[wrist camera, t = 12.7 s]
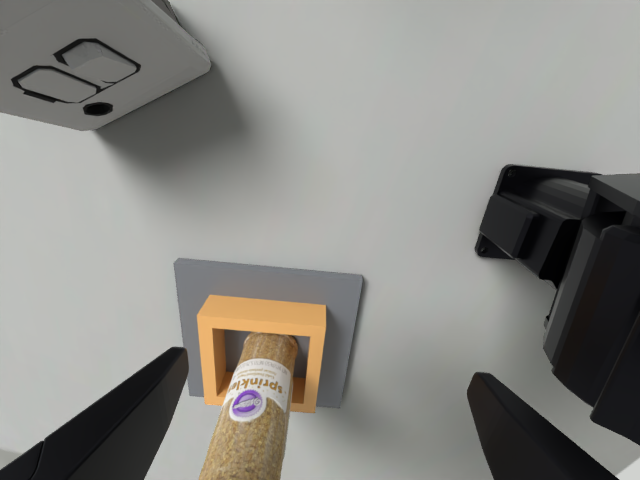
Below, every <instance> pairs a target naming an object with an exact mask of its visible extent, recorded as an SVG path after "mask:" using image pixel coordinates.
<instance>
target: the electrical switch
mask: <svg viewBox="0 0 640 480" xmlns="http://www.w3.org/2000/svg"><path fill="white" fill-rule="evenodd" d="M210 67H211V62H210V59H209V57H208V54H207V51H206V49H205V48H204V46H203V45H202V44H201V43H200V42H198V41H197V40H196V39H194V38H193V37H192V36H190V35H189V34H188V33H187V32H186V31H185V30H184V29H183V28H182V27H181V26H179V24H178V22H177V19H176V17H175V15H174V12H173V10H172V7H171V5H170V2H169V1H168V0H0V112H1V113H6V114H10V115H14V116H19V117H23V118H27V119H32V120H36V121H41V122H45V123H49V124H54V125H58V126H62V127H67V128H71V129H75V130H80V131H87V130H96V129H98V128H100V127H102V126H104V125H106V124H108V123H110V122H112V121H114V120H116V119H118V118H119V117H121V116H123V115H125V114H127V113H129V112H131V111H133V110H135V109H137V108H139V107H141V106H143V105H145V104H147V103H149V102H151V101H153V100H155V99H156V98H158V97H160V96H162V95H164V94H166V93H168V92H170V91H172V90H174V89H176V88H178V87H180V86H182V85H184V84H186V83H188V82H190V81H192V80H193V79H195V78H197V77H199V76H201V75H203V74H205V73H207V72H208V71H210Z"/></svg>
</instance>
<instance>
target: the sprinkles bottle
mask: <svg viewBox="0 0 640 480" xmlns="http://www.w3.org/2000/svg"><path fill="white" fill-rule="evenodd" d="M297 352H298V346H297V343H296V341H295V339H294V338H293V337H292V336H291V335H287V334H275V333H263V332H251V333H250V334H249V335H248V336H247V338H246V339H245V341H244V345H243V351H242V354H241V357H240V360H239V363H238V365H237V368H236V370H235V372H234V374H233V377H232V380H231V383H230V386H229V389H228V391H227V394H226V397H225V400H224V403H223V406H222V408H221V412H220V415H219V419H218V422H217V424H216V427H215V430H214V433H213V436H212V439H211V442H210V445H209V449H208V453H207V456H206V459H205V462H204V465H203V468H202V471H201V473H200V476H199V480H280V476H281V469H282V462H283V459H284V455H285V448H286V440H287V432H288V424H289V416H290V407H291V399H292V390H293V380H292V379H293V372H294V365H295V359H296V357H297Z"/></svg>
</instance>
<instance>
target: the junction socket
mask: <svg viewBox="0 0 640 480" xmlns="http://www.w3.org/2000/svg"><path fill="white" fill-rule="evenodd" d="M174 271H175V279H176V287H177V296H178V304H179V312H180V321H181V329H182V337H183V345H184V348H186V349H187V353H188V361H189V373H188V376H187V379H188V387H189V395H190V396H197V397H204V399H205V404H208V405H220V406H223V403H224V400H225V397H226V394H227V391H228V389H229V386H230V383H231V380H232V377H233V374H234V372H235V370H236V368H237V365H238V363H239V360H240V357H241V354H242V351H243V345H244V341H245V339H246V338H247V336H248V335H249V334H250V333H251V332H263V333H275V334H287V335H291V336H292V337H293V338H294V339H295V341H296V343H297V346H298V352H297V357H296V359H295V365H294V372H293V379H292V380H293V390H292V399H291V407H290V411H294V412H307V413H315V407H316V406H319V407H332V408H340V405H341V399H342V394H343V388H344V383H345V377H346V372H347V366H348V360H349V355H350V349H351V344H352V338H353V333H354V327H355V321H356V316H357V310H358V305H359V299H360V294H361V288H362V282H363V279H362V275H356V274H346V273H335V272H324V271H313V270H302V269H291V268H280V267H269V266H258V265H248V264H237V263H226V262H215V261H204V260H193V259H182V258H178V259H177V260H176V261H175V262H174Z"/></svg>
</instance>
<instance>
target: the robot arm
mask: <svg viewBox="0 0 640 480" xmlns="http://www.w3.org/2000/svg"><path fill="white" fill-rule="evenodd" d="M510 170H513V172H512V174H511V175H510V176H508V172H509V171H510ZM484 247H485V250H483V251H481V249H482V248H484ZM475 252H476V253H477V254H478V255H479V256H481V257H490V258H501V259H511V260H517V261H518V262H519V263H520V264H522V265H523V266H524V267H525V268H527V269H528V270H529V271H530V272H532V273H533V274H534V275H535V276H537V277H538V278H539V279H542V280H544V281H546V282H547V283H548V284H549V285H551V286H552V287H553V288H554V289H556V290H557V292H556V295H555V298H554V301H553V304H552V307H551V310H550V313H549V315H548V316H546V318H545V321H544V326H545V329H546V331H545V334H544V342H543V349H544V351H545V353H546V355H547V357H548V359H549V361H550V363H551V364H552V365H553V367H552V373H553V374H554V375H555V376H556V377H557V378H558V380H559V381H560V382H561V383H562V384H563V385H564V386H565V387H566V388H567V389H569V390H570V391H571V392H572V393H574V394H575V395H576V396H577V397H579V398H580V399H581V400H583V401H584V402H585V403H587V404H588V405H590V406H591V407H593V410H592V412H591V414H590V419H591V420H592V421H593V422H594V423H596V424H598V425H600V426H602V427H605V428H607V429H609V430H611V431H613V432H616V433H618V434H620V435H622V436H624V437H626V438H628V439H630V440H631V441H633V442H635V443H637V444H638V445H640V173H639V174H616V175H602V174H598V173H593V172H583V171H573V170H563V169H553V168H543V167H533V166H523V165H514V164H509V165H506V166H505V167H504V168H503V169H502V170H501V173H500V176H499V179H498V181H497V184H496V187H495V190H494V193H493V195H492V196H491V197H490V200H489V203H488V206H487V209H486V212H485V214H484V217H483V220H482V223H481V226H480V234H479V237H478V240H477V243H476V246H475ZM188 373H189V361H188V353H187V349H186V348H184V347H171V348H170V349H168V350H167V351H165V352H164V353H163V354H161V355H160V356H158V357H157V358H156V359H154V360H153V361H152V362H150V363H149V364H147V365H146V366H145V367H143V368H142V369H140V370H139V371H138V372H136V373H135V374H133V375H132V376H131V377H129V378H128V379H127V380H125V381H124V382H122V383H121V384H120V385H118V386H117V387H115V388H114V389H113V390H111V391H110V392H108V393H107V394H106V395H104V396H103V397H102V398H100V399H99V400H97V401H96V402H95V403H93V404H92V405H90V406H89V407H88V408H86V409H85V410H83V411H82V412H81V413H79V414H78V415H77V416H75V417H74V418H72V419H71V420H70V421H68V422H67V423H65V424H64V425H63V426H61V427H60V428H58V429H57V430H56V431H54V432H53V433H52V434H50V435H49V436H47V437H46V438H45V439H44V441H40V442H39V443H37V444H36V445H35V446H33V447H32V448H31V449H29V450H28V451H26V452H25V453H24V454H22V455H21V456H19V457H18V458H17V459H15V460H14V461H12V462H11V463H9V464H8V465H6V466H5V467H4V468H2V469H1V470H0V480H144V478H145V476H146V474H147V472H148V470H149V468H150V466H151V464H152V462H153V459H154V457H155V455H156V453H157V451H158V449H159V447H160V445H161V443H162V441H163V439H164V436H165V434H166V432H167V430H168V428H169V425H170V423H171V420H172V418H173V415H174V412H175V409H176V406H177V404H178V401H179V398H180V395H181V393H182V390H183V387H184V384H185V382H186V379H187V376H188ZM467 397H468V401H469V405H470V408H471V412H472V415H473V419H474V422H475V426H476V429H477V432H478V436H479V439H480V443H481V446H482V449H483V452H484V455H485V457H486V460H487V463H488V465H489V468H490V470H491V473H492V476H493V478H494V480H619V479H618V478H617V477H615V476H614V475H613V474H612V473H610V472H609V471H608V470H607V469H606V468H604V467H603V466H602V465H601V464H600V463H598V462H597V461H596V460H595V459H593V458H592V457H591V456H590V455H589V454H587V453H586V452H585V451H584V450H583V449H581V448H580V447H579V446H578V445H576V444H575V443H574V442H573V441H572V440H570V439H569V438H568V437H567V436H566V435H564V434H563V433H562V432H561V431H559V430H558V429H557V428H556V427H555V426H553V425H552V424H551V423H550V422H549V421H547V420H546V419H545V418H544V417H542V416H541V415H540V414H539V413H538V412H536V411H535V410H534V409H533V408H532V407H530V406H529V405H528V404H527V403H525V402H524V401H523V400H522V399H521V398H519V397H518V396H517V395H516V394H515V393H513V392H512V391H511V390H510V389H509V388H507V387H506V386H505V385H504V384H502V383H501V382H500V381H499V380H498V379H496V378H495V377H494V376H493V375H491V374H490V373H484V372H476V373H475V374H474V375H473V378H472V380H471V382H470V385H469V387H468V390H467Z"/></svg>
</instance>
